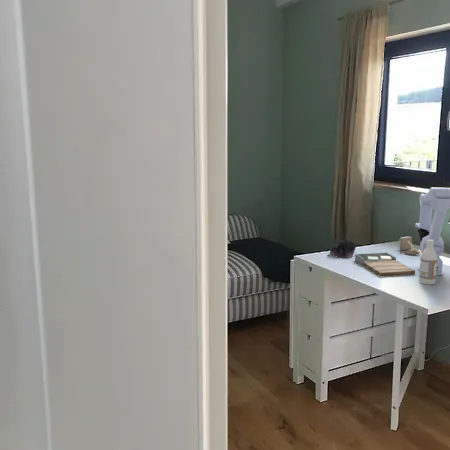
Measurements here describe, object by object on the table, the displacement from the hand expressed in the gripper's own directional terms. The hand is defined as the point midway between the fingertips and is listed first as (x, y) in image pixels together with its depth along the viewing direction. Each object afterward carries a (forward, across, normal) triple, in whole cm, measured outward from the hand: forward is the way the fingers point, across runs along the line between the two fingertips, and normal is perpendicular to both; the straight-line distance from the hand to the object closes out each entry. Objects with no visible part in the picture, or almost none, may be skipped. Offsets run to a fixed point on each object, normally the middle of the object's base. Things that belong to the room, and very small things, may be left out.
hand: (423, 243), depth 263 cm
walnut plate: (+10, -8, +23) cm, 26 cm away
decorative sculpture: (+11, +21, -4) cm, 24 cm away
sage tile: (+10, +4, +25) cm, 27 cm away
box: (+10, +6, +23) cm, 26 cm away
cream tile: (+10, +4, +18) cm, 21 cm away
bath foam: (+11, -29, +15) cm, 34 cm away
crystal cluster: (+11, +23, +34) cm, 42 cm away
